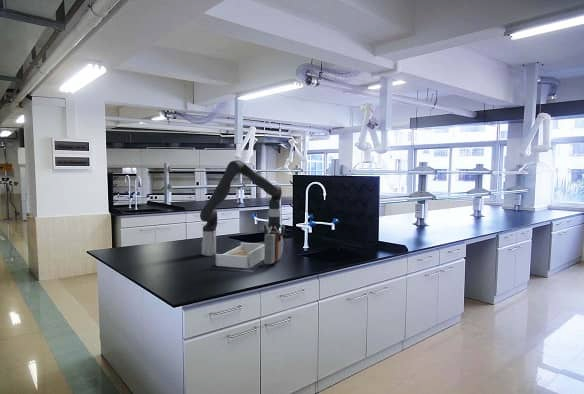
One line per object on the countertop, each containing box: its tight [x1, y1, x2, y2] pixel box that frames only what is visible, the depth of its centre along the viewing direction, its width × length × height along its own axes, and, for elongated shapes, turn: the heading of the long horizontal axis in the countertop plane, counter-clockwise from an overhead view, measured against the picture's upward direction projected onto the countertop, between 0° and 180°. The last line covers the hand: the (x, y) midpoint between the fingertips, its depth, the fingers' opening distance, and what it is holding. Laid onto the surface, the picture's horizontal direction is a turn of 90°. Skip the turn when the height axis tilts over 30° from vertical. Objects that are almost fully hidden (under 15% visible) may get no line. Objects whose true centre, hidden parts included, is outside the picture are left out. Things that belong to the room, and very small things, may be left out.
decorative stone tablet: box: [263, 231, 284, 265], centre depth 240 cm, size 19×6×30 cm
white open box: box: [215, 242, 265, 269], centre depth 246 cm, size 22×40×10 cm, turn 165°
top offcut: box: [230, 250, 249, 256], centre depth 248 cm, size 6×15×2 cm, turn 156°
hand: (274, 241), depth 240 cm, fingers closed on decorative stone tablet, 6 cm apart
